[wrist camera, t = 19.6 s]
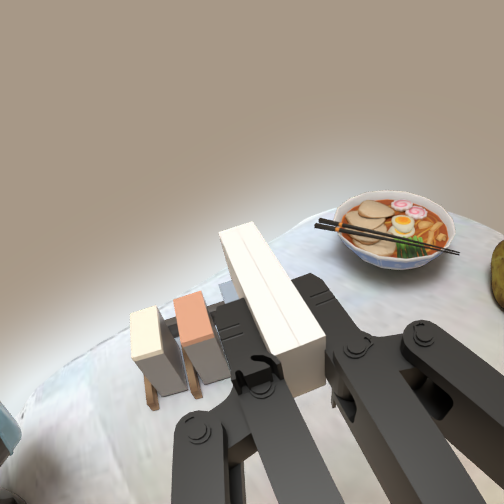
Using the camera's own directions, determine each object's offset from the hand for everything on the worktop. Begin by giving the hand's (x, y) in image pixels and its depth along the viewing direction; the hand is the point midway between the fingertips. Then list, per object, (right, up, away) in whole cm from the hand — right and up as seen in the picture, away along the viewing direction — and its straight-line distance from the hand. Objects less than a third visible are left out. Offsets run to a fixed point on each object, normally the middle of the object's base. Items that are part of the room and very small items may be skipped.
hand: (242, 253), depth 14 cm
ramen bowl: (+27, 0, +43) cm, 51 cm away
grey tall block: (-11, -18, +31) cm, 37 cm away
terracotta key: (-5, -16, +31) cm, 36 cm away
